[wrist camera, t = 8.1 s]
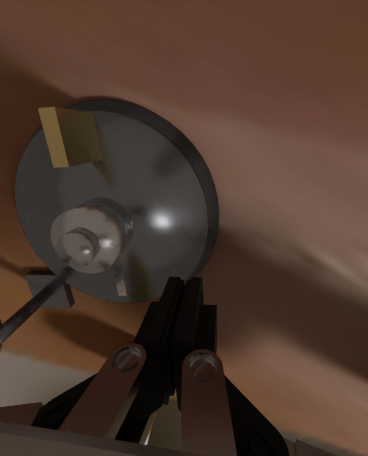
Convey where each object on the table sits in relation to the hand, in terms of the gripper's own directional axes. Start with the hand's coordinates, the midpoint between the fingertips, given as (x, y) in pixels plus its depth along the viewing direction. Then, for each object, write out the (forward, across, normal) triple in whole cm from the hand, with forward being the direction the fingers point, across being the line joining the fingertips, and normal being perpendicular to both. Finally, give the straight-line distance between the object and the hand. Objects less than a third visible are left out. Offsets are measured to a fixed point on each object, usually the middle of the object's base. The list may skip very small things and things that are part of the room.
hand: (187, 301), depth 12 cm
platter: (+12, +10, -1) cm, 15 cm away
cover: (+11, +10, 0) cm, 15 cm away
